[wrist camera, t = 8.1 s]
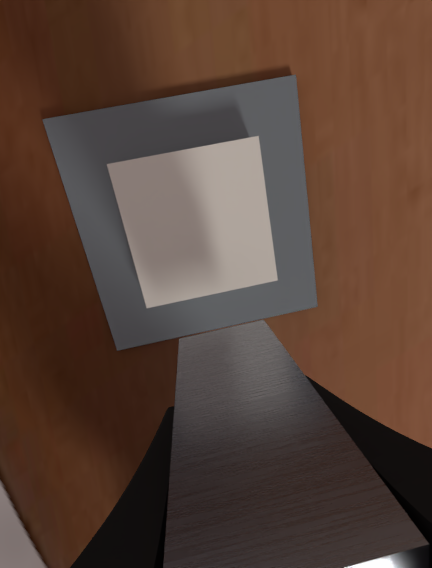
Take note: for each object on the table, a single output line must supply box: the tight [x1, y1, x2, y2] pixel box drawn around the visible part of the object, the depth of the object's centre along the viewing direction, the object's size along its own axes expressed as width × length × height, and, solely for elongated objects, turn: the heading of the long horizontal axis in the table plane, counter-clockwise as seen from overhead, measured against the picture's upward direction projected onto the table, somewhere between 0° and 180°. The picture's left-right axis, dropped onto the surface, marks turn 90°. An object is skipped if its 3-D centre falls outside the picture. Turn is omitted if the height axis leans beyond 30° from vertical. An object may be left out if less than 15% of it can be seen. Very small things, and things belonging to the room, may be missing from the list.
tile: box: [107, 136, 278, 308], centre depth 16 cm, size 2×8×8 cm
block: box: [163, 320, 429, 568], centre depth 9 cm, size 4×4×9 cm
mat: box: [42, 75, 318, 351], centre depth 17 cm, size 14×14×1 cm
